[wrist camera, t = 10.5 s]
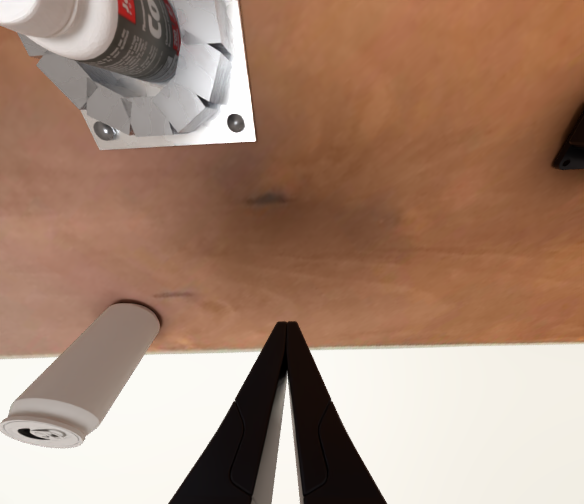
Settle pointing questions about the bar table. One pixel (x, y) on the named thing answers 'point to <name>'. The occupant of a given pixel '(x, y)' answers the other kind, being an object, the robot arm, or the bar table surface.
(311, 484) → the robot arm
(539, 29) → the bar table surface
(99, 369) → the beverage can
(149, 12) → the pill bottle
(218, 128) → the socket
